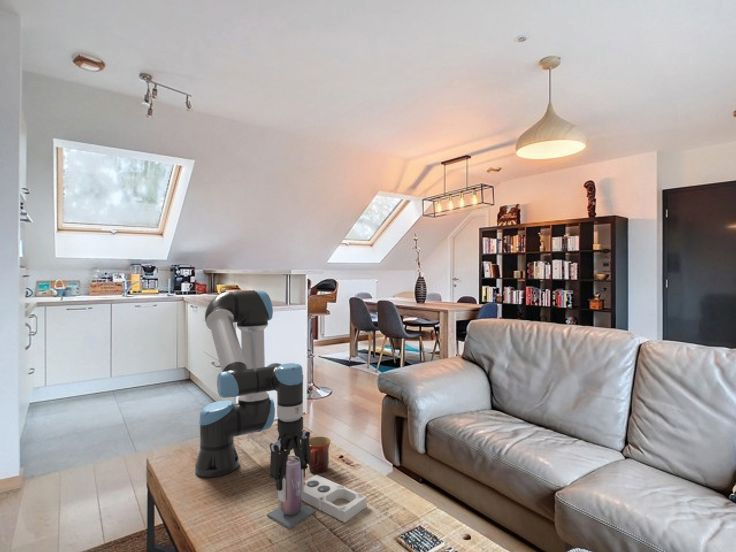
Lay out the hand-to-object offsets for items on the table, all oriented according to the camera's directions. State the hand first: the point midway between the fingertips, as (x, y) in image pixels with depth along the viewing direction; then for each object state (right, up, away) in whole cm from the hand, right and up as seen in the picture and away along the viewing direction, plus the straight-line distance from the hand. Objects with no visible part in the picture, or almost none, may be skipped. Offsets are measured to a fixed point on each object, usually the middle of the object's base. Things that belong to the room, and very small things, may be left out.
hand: (291, 494), depth 121 cm
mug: (+5, -6, +26) cm, 27 cm away
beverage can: (0, -5, 0) cm, 5 cm away
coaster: (0, -6, 0) cm, 6 cm away
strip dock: (+8, -6, +9) cm, 13 cm away
